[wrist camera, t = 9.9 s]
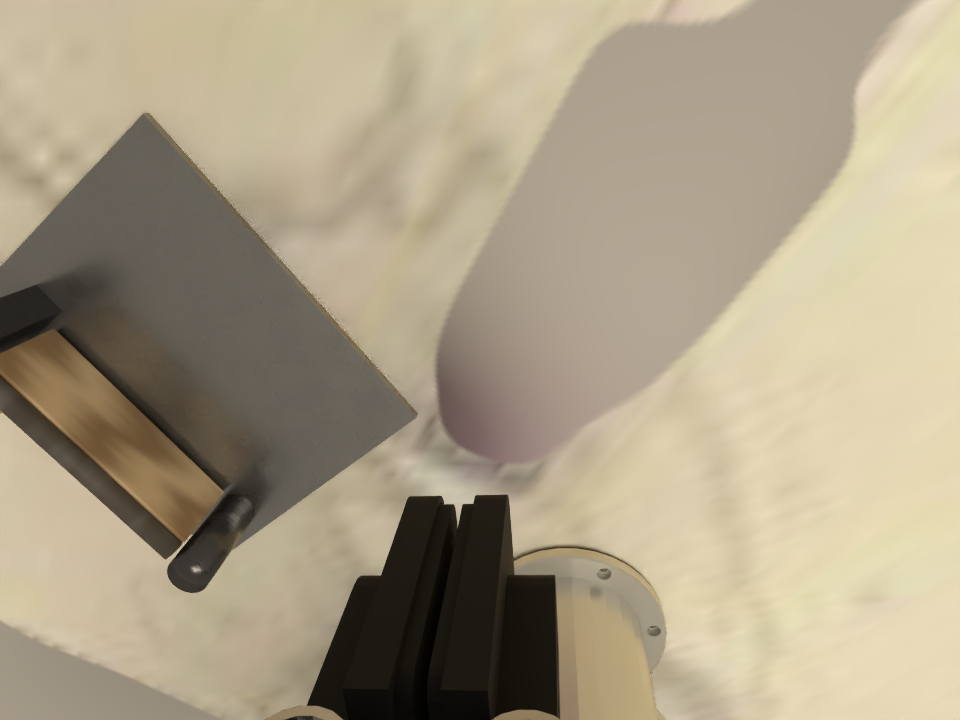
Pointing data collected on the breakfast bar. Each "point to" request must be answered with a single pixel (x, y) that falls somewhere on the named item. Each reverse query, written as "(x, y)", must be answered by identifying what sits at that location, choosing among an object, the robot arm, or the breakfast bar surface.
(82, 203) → the gate frame
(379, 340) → the breakfast bar surface
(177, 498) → the gate
